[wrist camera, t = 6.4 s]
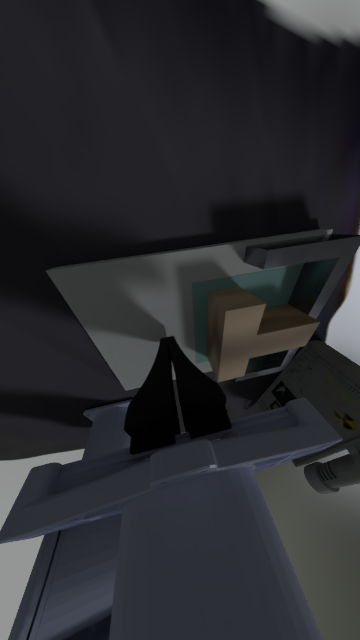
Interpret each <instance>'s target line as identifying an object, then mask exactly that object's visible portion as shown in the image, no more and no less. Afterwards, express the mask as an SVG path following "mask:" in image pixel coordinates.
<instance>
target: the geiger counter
mask: <svg viewBox="0 0 360 640" xmlns="http://www.w3.org/2000/svg"><path fill="white" fill-rule="evenodd" d="M303 397H304V398H306V399H307V400H308V401H309V402H310V403H311V404H312V405H313V407H314V408H315V409H316V410H317V411H318V412H319V413H320V414H321V415H322V416H323V417H324V419H325V420H326V421H327V422H328V423H329V424H330V425H331V426H332V427H333V428H334V429H335V431H336V432H337V433H338V434H339V435H340V436H341V437H342V439H343V440H342V441H340V442H338V443H335V444H333V445H331V446H329V447H327V448H325V449H323V450H321V451H318V452H314V453H311V454H308V455H305V456H302V457H299V458H296V459H293V460H292V462H293V463H294V465H295V466H296V467H298V466H302V465H305V464H309V463H312V462H314V461H317V460H319V459H322V458H325V457H327V456H330V455H332V454H335V453H338V452H340V451H343V450H345V449H347V450H348V452H349V453H350V454H348V455H345V456H342V457H339V458H336V459H333V460H331V461H328V462H326V463H320V462H315V463H312V464H309V465H307V466H305V467H304V474H305V477H306V479H307V481H308V482H309V484H310V485H311V486H312V487H313V488H314V489H315V490H316V491H317V492H319V493H321V494H328V493H333V492H338V491H339V488H340V487H344V486H348V485H354V484H359V483H360V366H359V365H357V364H356V363H354V362H352V361H351V360H350V359H348V358H347V357H345V356H344V355H342V354H340V353H339V352H338V351H336V350H335V349H333V348H332V347H330V346H329V345H327V344H326V343H324V342H323V341H318V340H315V341H310V342H307V344H306V346H304V347H303V348H302V349H301V350H300V351H299V353H298V354H297V355H296V356H295V357H294V359H293V360H292V361H291V362H290V364H289V365H288V367H287V369H286V370H283V371H282V373H281V374H280V375H279V376H278V377H277V378H276V380H275V381H274V382H273V383H272V384H271V385H270V387H269V388H268V389H267V390H266V391H265V392H264V394H263V395H262V396H261V397H260V398H259V399H258V401H257V404H258V405H259V407H260V409H261V410H262V412H265V411H269V410H273V409H277V408H281V407H284V406H285V405H286V403H288V402H289V401H291V400H295V399H299V398H303Z"/></svg>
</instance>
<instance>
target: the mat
mask: <svg viewBox="0 0 360 640" xmlns="http://www.w3.org/2000/svg"><path fill="white" fill-rule="evenodd" d="M332 231H333V229H319V230H312V231H305V232H298V233H291V234H284V235H277V236H270V237H263V238H256V239H249V240H242V241H235V242H228V243H221V244H214V245H207V246H200V247H193V248H186V249H179V250H172V251H165V252H158V253H151V254H144V255H137V256H130V257H123V258H116V259H109V260H102V261H95V262H88V263H81V264H74V265H67V266H60V267H54V268H51V269H49V270H46V272H47V274H48V275H49V277H50V278H51V280H52V281H53V283H54V284H55V286H56V287H57V289H58V290H59V291H60V293H61V294H62V296H63V297H64V299H65V300H66V302H67V303H68V305H69V306H70V308H71V309H72V311H73V312H74V314H75V315H76V317H77V318H78V320H79V321H80V323H81V324H82V326H83V327H84V329H85V330H86V332H87V333H88V335H89V336H90V338H91V339H92V341H93V342H94V344H95V345H96V347H97V348H98V350H99V351H100V353H101V354H102V356H103V357H104V359H105V360H106V362H107V363H108V365H109V366H110V368H111V369H112V371H113V372H114V374H115V375H116V377H117V378H118V380H119V381H120V383H121V384H122V386H123V387H124V389H125V390H131V389H135V388H139V387H141V386H142V385H143V383H144V381H145V380H146V378H147V376H148V374H149V372H150V370H151V368H152V366H153V363H154V361H155V358H156V355H157V352H158V348H159V344H160V339H161V338H165V337H170V336H174V337H175V339H176V341H177V343H178V345H179V347H180V348H181V350H182V351H183V352H184V354H185V355H186V356H187V357H188V359H189V360H190V361H191V362H192V363H193V364H194V365H195V366H196V367H197V368H198V369H199V370H200V371H202V372H203V373H205V372H210V371H213V370H212V368H211V365H210V363H209V361H208V358H207V322H208V292H210V291H216V290H221V289H227V288H233V287H238V286H240V287H241V288H243V289H244V290H246V291H247V292H249V293H250V294H252V295H254V296H255V297H257V298H258V299H260V300H261V301H263V302H264V303H266V306H265V308H267V307H272V306H277V305H283V304H288V301H289V299H290V296H291V294H292V292H293V289H294V287H295V284H296V282H297V279H298V277H299V274H300V272H301V270H302V267H303V265H304V263H300V264H294V265H288V266H282V267H276V268H270V269H264V270H263V269H260V268H258V267H255V266H252V265H249V264H247V263H244V257H245V251H246V246H250V245H257V244H264V243H271V242H278V241H284V240H291V239H298V238H305V237H312V236H318V235H325V234H331V233H332ZM172 375H173V380H175V379H176V376H175V371H174V368H173V364H172Z"/></svg>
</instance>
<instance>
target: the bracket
mask: <svg viewBox="0 0 360 640" xmlns="http://www.w3.org/2000/svg"><path fill="white" fill-rule="evenodd" d="M359 246H360V235H342V234H325V235H318V236H312V237H305V238H298V239H291V240H284V241H278V242H271V243H264V244H257V245H250V246H246V251H245V257H244V263H247V264H249V265H252V266H255V267H258V268H260V269H263V270H264V269H270V268H276V267H282V266H288V265H294V264H300V263H304V265H303V267H302V270H301V272H300V274H299V277H298V279H297V282H296V284H295V287H294V289H293V292H292V294H291V296H290V299H289V301H288V304H289V305H291V306H292V307H294V308H296V309H298V310H300V311H301V312H303V313H305V314H307V315H309V316H311V317H312V318H314V319H316V318H317V317H318V315H319V313H320V312H321V310H322V308H323V306H324V305H325V303H326V301H327V300H328V298H329V296H330V295H331V293H332V291H333V290H334V288H335V286H336V285H337V283H338V281H339V280H340V278H341V276H342V275H343V273H344V271H345V270H346V268H347V266H348V265H349V263H350V261H351V260H352V258H353V256H354V254H355V253H356V251H357V249H358V248H359ZM298 348H299V347H298ZM298 348H294V349H289V350H285V351H280V352H276V353H272V354H267V355H263V356H258V357H254V358H249V362H248V365H247V368H246V371H245V375H244V376H242V377H238V378H234V381H235V382H237V381H241V380H245V379H250V378H254V377H258V376H262V375H266V374H271V373H275V372H279V371H283V370H286V369H287V367H288V365H289V364H290V362H291V360H292V358H293V357H294V355H295V353H296V352H297V350H298Z"/></svg>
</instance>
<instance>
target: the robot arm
mask: <svg viewBox="0 0 360 640" xmlns="http://www.w3.org/2000/svg"><path fill="white" fill-rule="evenodd" d="M172 364H173V368H174V371H175V376H176V382H177V389H178V395H179V401H180V406H181V410H182V416H183V421H184V426H185V430H186V433H182V434H181V431H180V425H179V419H178V412H177V406H176V400H175V393H174V387H173V375H172ZM225 404H226V396H225V394H224V393H223V391H222V389H221V388H220V386H219V385H218V384H217V383H216V382H214V381H213V380H212V379H210V378H209V377H208V376H206V375H205V374H204V373H203V372H202V371H200V370H199V369H198V368H197V367H196V366H195V365H194V364H193V363H192V362H191V361H190V360H189V359H188V357H187V356H186V355H185V354H184V352H183V351H182V350H181V348H180V347H179V345H178V343H177V341H176V339H175V337H174V336H170V337H165V338H161V339H160V344H159V348H158V352H157V355H156V358H155V361H154V363H153V366H152V368H151V370H150V372H149V374H148V376H147V378H146V380H145V381H144V383H143V385H142V386H141V388H140V389H139V391H138V392H137V394H136V395H135V397H134V398H133V399H131V400H127V401H122V402H118V403H114V404H109V405H105V406H101V407H97V408H92V409H88V410H85V411H84V412H83V415H85V416H86V417H87V418H88V419H90V420H91V421H92V422H93V424H92V428H91V431H90V434H89V438H88V441H87V444H86V448H85V451H84V454H83V458H82V460H79V461H76V462H72V463H68V464H64V465H62V464H59V463H49V464H45V465H42V466H38V467H34V468H32V469H31V471H30V473H29V475H28V477H27V479H26V481H25V483H24V485H23V487H22V489H21V491H20V493H19V495H18V497H17V499H16V501H15V503H14V505H13V507H12V509H11V511H10V513H9V515H8V517H7V519H6V521H5V523H4V525H3V527H2V529H1V531H0V544H1V543H7V542H13V541H19V540H24V539H30V538H34V537H38V536H41V535H44V538H43V541H42V543H41V546H40V549H39V552H38V555H37V558H36V561H35V564H34V566H33V569H32V572H31V575H30V578H29V581H28V583H27V587H26V589H25V592H24V595H23V598H22V601H21V604H20V606H19V609H18V612H17V615H16V618H15V621H14V624H13V627H12V630H11V633H10V636H9V639H8V640H323V638H322V636H321V634H320V631H319V629H318V627H317V624H316V622H315V619H314V617H313V615H312V612H311V610H310V607H309V605H308V603H307V600H306V598H305V596H304V593H303V591H302V588H301V586H300V584H299V581H298V579H297V576H296V574H295V572H294V570H293V567H292V564H291V562H290V560H289V557H288V555H287V553H286V550H285V548H284V545H283V543H282V541H281V538H280V536H279V533H278V531H277V529H276V526H275V524H274V522H273V519H272V517H271V514H270V512H269V510H268V507H267V505H266V502H265V500H264V498H263V495H262V493H261V491H260V488H259V486H258V483H257V481H256V479H255V476H254V474H253V473H254V472H257V471H260V470H263V469H266V468H269V467H272V466H275V465H277V464H280V463H284V462H287V461H289V460H293V459H296V458H299V457H302V456H305V455H308V454H311V453H314V452H318V451H321V450H323V449H325V448H327V447H329V446H331V445H333V444H335V443H338V442H340V441H342V440H343V439H342V437H341V436H340V435H339V434H338V433H337V432H336V431H335V429H334V428H333V427H332V426H331V425H330V424H329V423H328V422H327V421H326V420H325V419H324V417H323V416H322V415H321V414H320V413H319V412H318V411H317V410H316V409H315V408H314V407H313V405H312V404H311V403H310V402H309V401H308V400H307V399H306V398H304V397H303V398H299V399H295V400H291V401H289V402H288V403H286V405H285V406H284V407H281V408H277V409H273V410H269V411H265V412H262V413H258V414H254V415H250V416H246V417H243V418H239V419H235V420H231V421H230V419H229V417H228V415H227V410H226V407H225ZM220 438H221V439H220ZM217 439H220V440H217ZM213 440H214V441H213ZM147 458H148V459H147ZM145 459H146V460H145Z"/></svg>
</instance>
